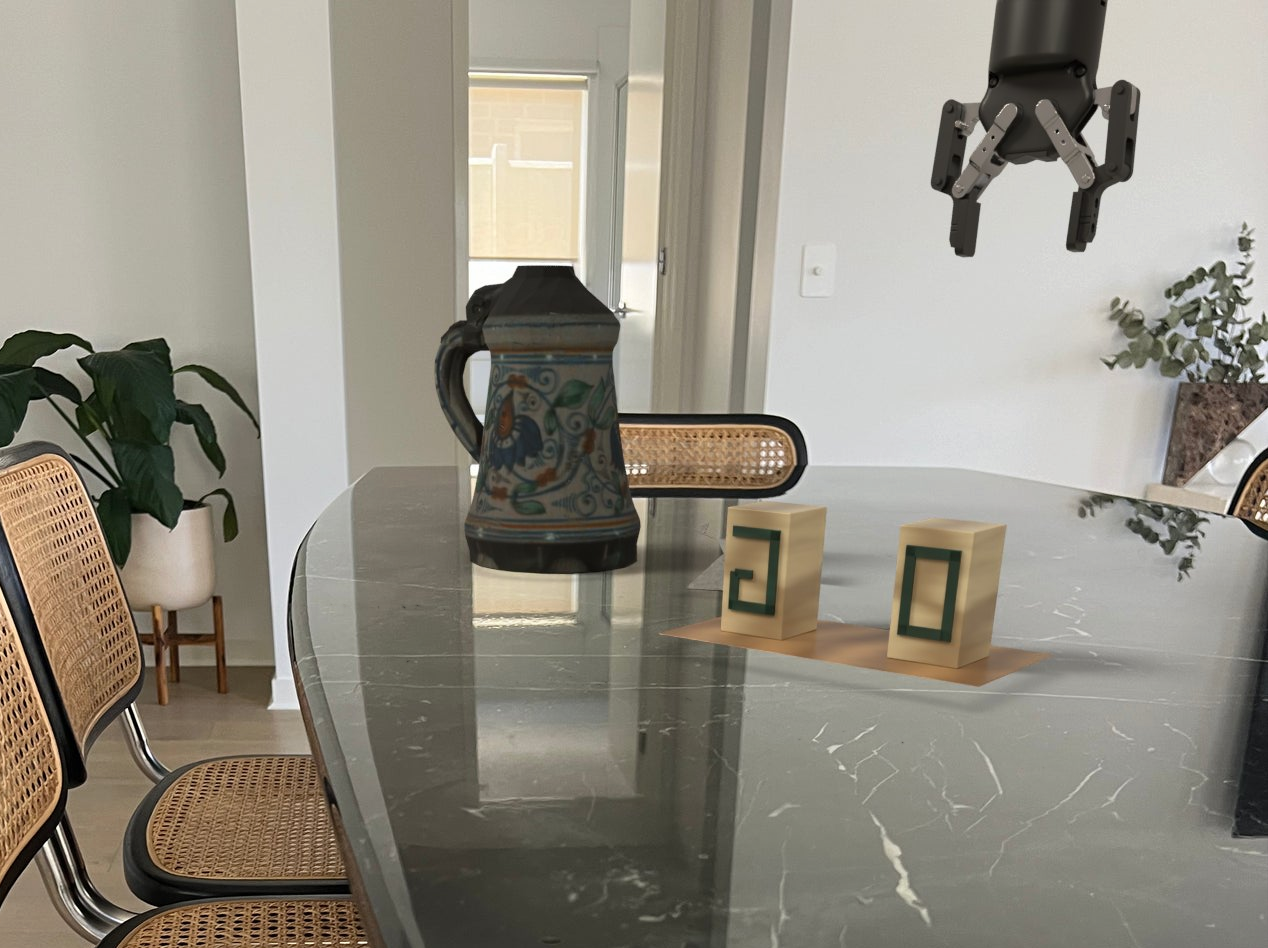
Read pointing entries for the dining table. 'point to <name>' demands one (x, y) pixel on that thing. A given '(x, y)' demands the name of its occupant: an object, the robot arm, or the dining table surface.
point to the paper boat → (711, 568)
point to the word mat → (863, 651)
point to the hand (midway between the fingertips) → (1018, 253)
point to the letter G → (773, 569)
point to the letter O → (945, 591)
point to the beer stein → (541, 426)
